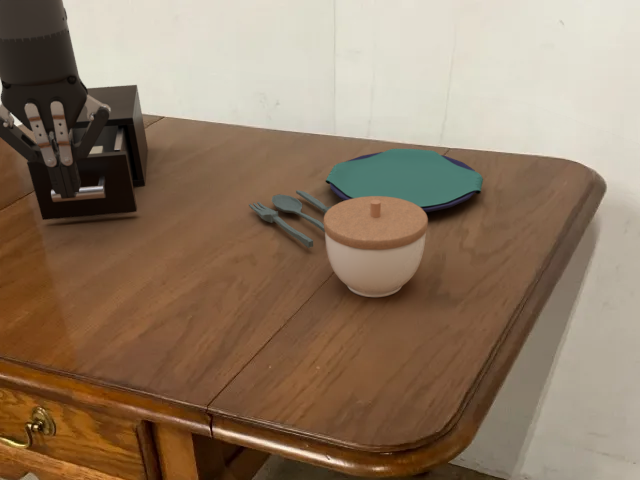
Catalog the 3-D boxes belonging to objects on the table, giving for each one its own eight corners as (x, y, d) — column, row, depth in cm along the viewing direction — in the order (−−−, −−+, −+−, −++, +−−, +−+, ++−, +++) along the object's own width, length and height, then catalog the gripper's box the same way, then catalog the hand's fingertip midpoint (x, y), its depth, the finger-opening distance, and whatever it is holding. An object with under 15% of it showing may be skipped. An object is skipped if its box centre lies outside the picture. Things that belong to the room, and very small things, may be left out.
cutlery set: (510, 199, 100) (512, 182, 99) (312, 262, 88) (312, 244, 86) (417, 153, 113) (418, 138, 112) (235, 202, 101) (233, 185, 100)
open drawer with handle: (135, 227, 94) (123, 169, 89) (37, 236, 93) (20, 177, 88) (140, 171, 108) (130, 117, 103) (55, 178, 107) (41, 124, 102)
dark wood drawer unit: (145, 185, 106) (132, 117, 100) (50, 193, 105) (31, 125, 99) (147, 147, 118) (136, 84, 112) (62, 154, 116) (46, 90, 111)
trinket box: (441, 274, 85) (447, 193, 79) (393, 319, 78) (395, 234, 72) (358, 251, 90) (358, 173, 84) (306, 291, 83) (302, 209, 77)
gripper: (-53, 39, 71) (2, 215, 82) (93, 30, 72) (128, 204, 83) (-36, 21, 77) (13, 187, 87) (99, 12, 78) (131, 177, 89)
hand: (69, 195), depth 85 cm, fingers closed
